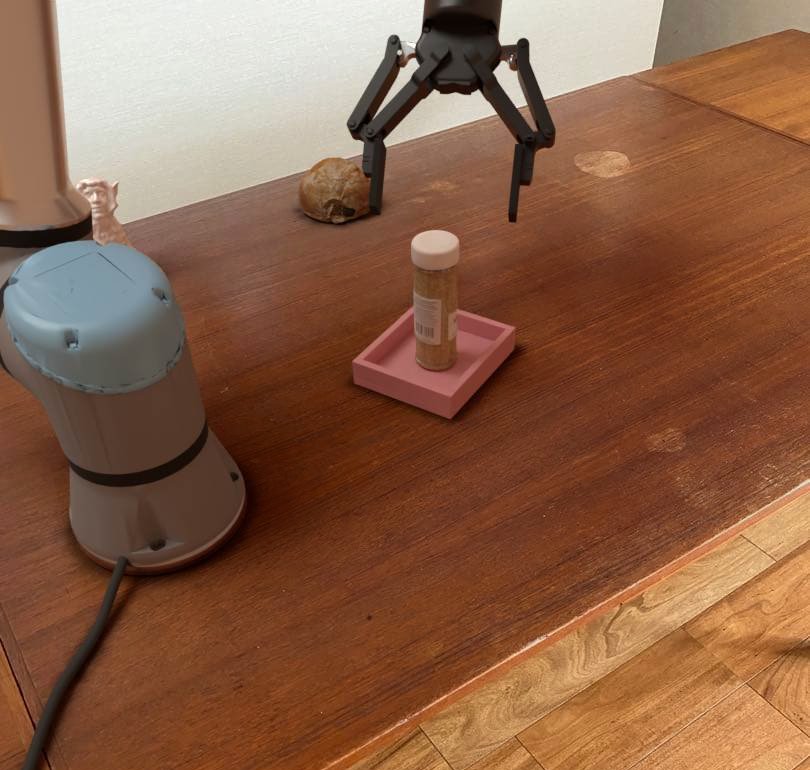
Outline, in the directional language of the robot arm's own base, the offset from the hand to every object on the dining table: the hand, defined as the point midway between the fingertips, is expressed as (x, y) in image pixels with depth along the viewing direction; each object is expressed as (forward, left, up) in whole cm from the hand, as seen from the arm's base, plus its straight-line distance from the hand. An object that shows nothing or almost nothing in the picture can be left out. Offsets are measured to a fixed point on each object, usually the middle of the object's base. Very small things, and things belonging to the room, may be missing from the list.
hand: (442, 214), depth 85 cm
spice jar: (-5, -2, -13) cm, 14 cm away
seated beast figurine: (-9, +41, -14) cm, 44 cm away
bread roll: (+19, +28, -14) cm, 37 cm away
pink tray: (-5, -2, -14) cm, 15 cm away
